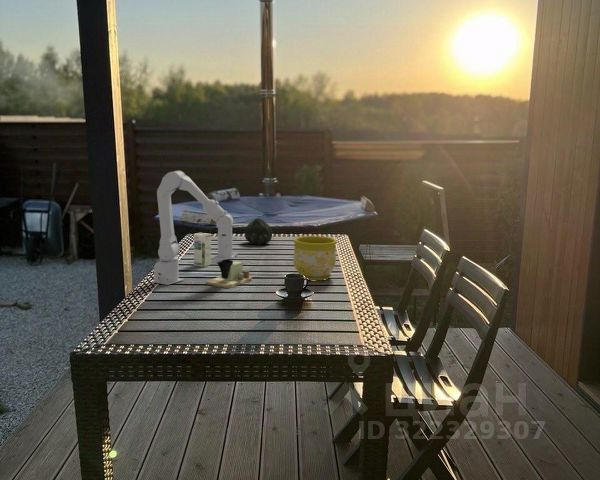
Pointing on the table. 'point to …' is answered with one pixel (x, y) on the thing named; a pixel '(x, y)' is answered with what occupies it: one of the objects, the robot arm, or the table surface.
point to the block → (235, 270)
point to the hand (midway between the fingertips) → (224, 278)
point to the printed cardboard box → (202, 249)
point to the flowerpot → (314, 256)
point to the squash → (258, 232)
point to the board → (227, 283)
